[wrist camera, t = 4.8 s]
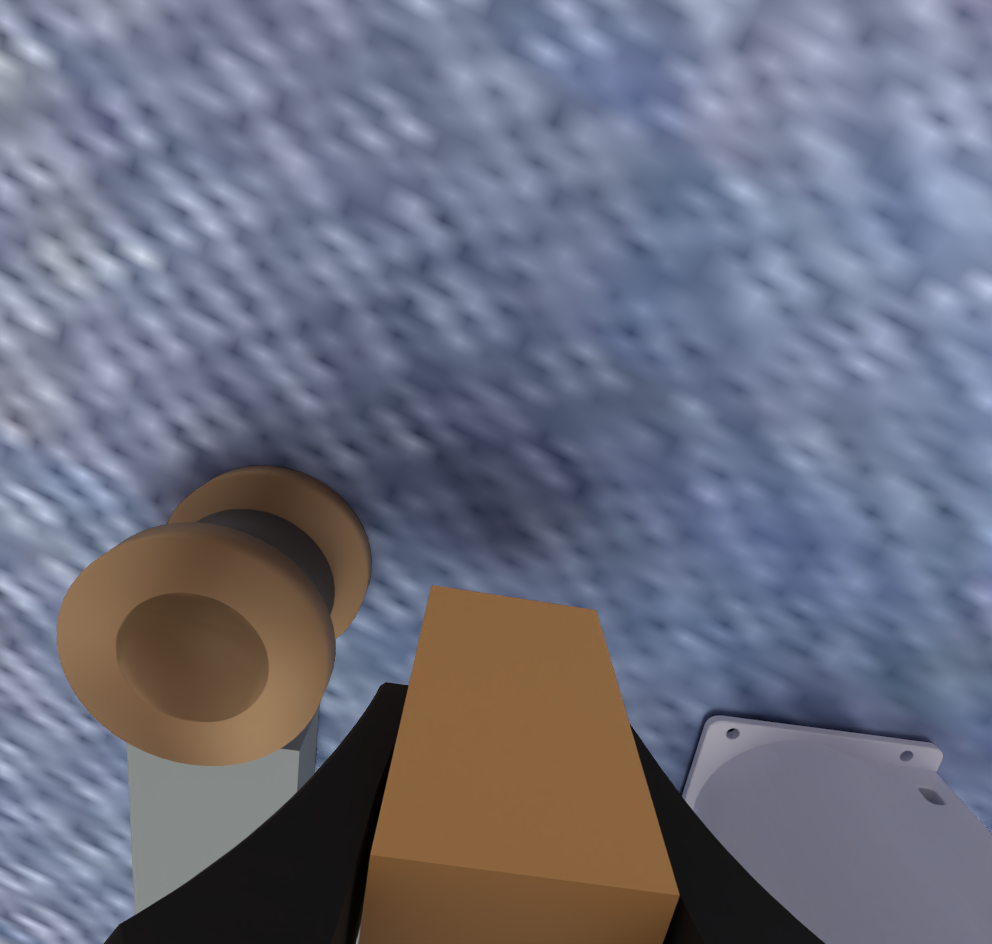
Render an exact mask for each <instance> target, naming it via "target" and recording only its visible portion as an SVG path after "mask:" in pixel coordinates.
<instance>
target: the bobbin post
mask: <svg viewBox="0 0 992 944" xmlns="http://www.w3.org/2000/svg"><path fill="white" fill-rule="evenodd" d="M371 563H372V560H371V552H370V546H369V542H368V539H367V536H366V533H365V531H364V529H363V526H362V524H361V523H360V521H359V519H358V517H357V516H356V514H355V513H354V512H353V510H352V509H351V508H350V506H349V505H348V504H347V503H346V502H345V501H344V500H343V499H342V498H341V497H340V496H339V495H338V494H337V493H336V492H334V491H333V490H332V489H331V488H329V487H328V486H326V485H325V484H323V483H322V482H320V481H318V480H317V479H315V478H313V477H310V476H308V475H306V474H304V473H301V472H298V471H295V470H292V469H288V468H283V467H278V466H266V465H261V466H248V467H242V468H237V469H234V470H231V471H228V472H225V473H223V474H221V475H219V476H217V477H214V478H213V479H211V480H210V481H208V482H207V483H205V484H204V485H203V486H201V487H200V488H198V489H197V490H195V491H194V492H193V493H191V494H190V495H189V496H188V497H187V498H185V499H184V500H183V501H182V502H181V503H180V504H179V506H178V507H177V508H176V509H175V511H174V512H173V514H172V515H171V517H170V519H169V521H168V522H167V525H161V526H157V527H154V528H150V529H147V530H144V531H142V532H139V533H137V534H135V535H133V536H131V537H129V538H127V539H126V540H124V541H123V542H121V543H120V544H118V545H117V546H115V547H114V548H113V549H111V550H110V551H108V552H107V553H105V554H104V555H103V556H101V557H100V558H98V559H97V560H95V561H94V562H93V563H91V564H90V565H89V566H88V567H87V568H86V569H85V570H84V571H83V572H81V573H80V575H79V576H78V577H77V578H76V580H75V581H74V582H73V584H72V585H71V586H70V588H69V590H68V592H67V594H66V596H65V597H64V600H63V603H62V606H61V609H60V612H59V616H58V623H57V646H58V652H59V658H60V661H61V664H62V668H63V671H64V673H65V675H66V678H67V680H68V682H69V684H70V686H71V688H72V689H73V691H74V692H75V694H76V696H77V697H78V699H79V700H80V702H81V703H82V704H83V705H84V706H85V708H86V709H87V710H88V711H89V712H90V714H91V715H92V716H94V717H95V718H96V719H97V720H98V721H99V722H100V723H101V724H102V725H103V726H104V727H106V728H107V729H108V730H109V731H111V732H112V733H113V734H114V735H116V736H117V737H119V738H121V739H122V740H124V741H125V742H127V743H128V744H130V745H132V746H134V747H136V748H138V749H140V750H142V751H144V752H147V753H149V754H152V755H154V756H157V757H160V758H163V759H167V760H170V761H174V762H178V763H184V764H189V765H198V766H227V765H234V764H241V763H245V762H249V761H253V760H256V759H259V758H262V757H264V756H267V755H269V754H271V753H273V752H275V751H277V750H278V749H280V748H282V747H284V746H285V745H286V744H288V743H289V742H290V741H292V740H293V739H294V738H295V737H296V736H297V735H298V734H299V733H300V732H301V731H302V730H303V729H304V728H305V727H306V726H307V724H308V723H309V722H310V720H311V719H312V718H313V716H314V714H315V712H316V710H317V708H318V706H319V704H320V702H321V699H322V697H323V694H324V692H325V690H326V687H327V685H328V683H329V680H330V677H331V674H332V671H333V667H334V661H335V655H336V640H335V639H336V638H337V637H339V636H340V635H341V634H342V633H343V632H344V631H345V630H346V629H347V628H348V626H349V625H350V624H351V622H352V621H353V619H354V618H355V616H356V614H357V612H358V610H359V608H360V606H361V604H362V601H363V599H364V597H365V594H366V591H367V588H368V585H369V582H370V576H371Z"/></svg>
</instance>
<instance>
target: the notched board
mask: <svg viewBox="0 0 992 944" xmlns="http://www.w3.org/2000/svg"><path fill="white" fill-rule="evenodd" d="M319 706H320V704H319ZM319 706H318V708H317V710H316V712H315V714H314V716H313V718H312V719H311V720H310V722H309V723H308V724H307V726H306V727H305V728H304V729H303V730H302V731H301V732H300V733H299V734H298V735H297V736H296V737H295V738H294V739H293V740H292V741H290V742H289V743H288V744H286V745H285V746H284V747H282V748H280V749H278V750H277V751H275V752H273V753H271V754H269V755H267V756H264V757H262V758H259V759H256V760H253V761H249V762H245V763H241V764H234V765H227V766H198V765H189V764H184V763H178V762H174V761H170V760H167V759H163V758H160V757H157V756H154V755H152V754H149V753H147V752H144V751H142V750H140V749H138V748H136V747H134V746H132V745H130V744H128V743H127V761H128V782H129V802H130V823H131V844H132V865H133V886H134V907H135V915H136V914H137V913H139V912H141V911H142V910H144V909H145V908H147V907H149V906H150V905H152V904H153V903H155V902H157V901H158V900H160V899H161V898H163V897H165V896H166V895H168V894H169V893H171V892H173V891H174V890H176V889H177V888H179V887H180V886H182V885H183V884H185V883H186V882H188V881H189V880H190V879H192V878H193V877H195V876H196V875H197V874H199V873H200V872H201V871H203V870H204V869H205V868H207V867H208V866H210V865H211V864H212V863H214V862H215V861H216V860H218V859H219V858H221V857H222V856H223V855H225V854H226V853H227V852H229V851H230V850H231V849H233V848H234V847H235V846H236V845H238V844H239V843H240V842H241V841H243V840H244V839H245V838H246V837H248V836H249V835H250V834H251V833H252V832H253V831H255V830H256V829H257V828H258V827H259V826H260V825H262V824H263V823H264V822H265V821H266V820H267V819H269V818H270V817H271V816H272V815H273V814H274V813H275V812H276V811H278V810H279V809H280V808H281V807H282V806H283V805H284V804H285V803H286V802H287V801H288V800H289V799H290V798H291V797H292V796H293V795H294V794H295V793H296V792H297V791H298V790H299V789H300V788H301V787H302V786H303V785H304V784H305V783H306V782H307V781H308V780H309V779H310V778H311V777H312V776H313V775H314V774H315V760H316V747H317V733H318V719H319ZM360 927H361V926H360ZM359 934H360V929H359V933H358V937H357V941H356V944H358V942H359Z"/></svg>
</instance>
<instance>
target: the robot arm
mask: <svg viewBox="0 0 992 944" xmlns="http://www.w3.org/2000/svg"><path fill="white" fill-rule="evenodd" d="M408 687H409V685H401V684H394V683H387V682H386V683H384V684H383V685H381V686H380V687H379V689H378V691H377V693H376V695H375V696H374V698H373V700H372V701H371V703H370V705H369V706H368V708H367V709H366V711H365V712H364V713H363V715H362V716H361V718H360V719H359V720H358V722H357V723H356V725H355V726H354V727H353V728H352V730H351V731H350V732H349V734H348V735H347V736H346V737H345V739H344V740H343V741H342V742H341V744H340V745H339V746H338V748H337V749H336V750H335V751H334V752H333V753H332V755H331V756H330V757H329V758H328V759H327V760H326V761H325V762H324V764H323V765H322V766H321V767H320V768H319V769H318V770H317V771H316V772H315V774H314V775H313V776H312V777H311V778H310V779H309V780H308V781H307V782H306V783H305V784H304V785H303V786H302V787H301V788H300V789H299V790H298V791H297V792H296V793H295V794H294V795H293V796H292V797H291V798H290V799H289V800H288V801H287V802H286V803H285V804H284V805H283V806H282V807H281V808H280V809H279V810H278V811H276V812H275V813H274V814H273V815H272V816H271V817H270V818H269V819H267V820H266V821H265V822H264V823H263V824H262V825H260V826H259V827H258V828H257V829H256V830H255V831H253V832H252V833H251V834H250V835H249V836H248V837H246V838H245V839H244V840H243V841H241V842H240V843H239V844H238V845H236V846H235V847H234V848H233V849H231V850H230V851H229V852H227V853H226V854H225V855H223V856H222V857H221V858H219V859H218V860H216V861H215V862H214V863H212V864H211V865H210V866H208V867H207V868H205V869H204V870H203V871H201V872H200V873H199V874H197V875H196V876H195V877H193V878H192V879H190V880H189V881H188V882H186V883H185V884H183V885H182V886H180V887H179V888H177V889H176V890H174V891H173V892H171V893H169V894H168V895H166V896H165V897H163V898H161V899H160V900H158V901H157V902H155V903H153V904H152V905H150V906H149V907H147V908H145V909H144V910H142V911H141V912H139V913H137V914H136V915H134V916H133V917H131V918H129V919H128V920H126V921H124V922H123V923H121V924H119V925H118V927H117V928H116V929H115V930H114V931H113V933H112V934H111V935H110V936H109V938H108V939H107V940H106V942H105V943H104V944H356V941H357V937H358V933H359V929H360V926H361V920H362V912H363V905H364V897H365V890H366V883H367V875H368V868H369V860H370V854H371V849H372V845H373V840H374V836H375V832H376V827H377V823H378V818H379V814H380V810H381V805H382V801H383V796H384V792H385V788H386V783H387V779H388V774H389V770H390V766H391V761H392V757H393V752H394V748H395V744H396V739H397V735H398V730H399V726H400V722H401V717H402V713H403V709H404V704H405V700H406V695H407V691H408ZM629 724H630V723H629ZM630 727H631V731H632V734H633V737H634V741H635V744H636V748H637V751H638V754H639V758H640V761H641V765H642V768H643V772H644V775H645V778H646V782H647V785H648V789H649V792H650V795H651V799H652V802H653V806H654V809H655V812H656V816H657V819H658V823H659V826H660V830H661V833H662V836H663V840H664V843H665V847H666V850H667V853H668V857H669V860H670V864H671V867H672V871H673V874H674V877H675V881H676V884H677V888H678V891H679V894H680V896H679V899H678V902H677V905H676V907H675V910H674V913H673V916H672V919H671V922H670V924H669V927H668V930H667V933H666V936H665V939H664V941H663V944H992V834H991V833H990V832H989V831H988V830H987V829H986V827H985V826H984V825H983V824H982V823H981V822H980V821H979V820H978V818H977V817H976V816H975V815H974V814H973V813H972V812H971V811H970V809H969V808H968V807H967V806H966V805H965V804H964V803H963V802H962V800H961V799H960V798H959V797H958V796H957V795H956V794H955V793H954V791H953V790H952V789H951V788H950V787H949V786H948V785H947V784H946V782H945V781H944V780H943V779H942V778H941V777H940V776H939V775H938V774H937V773H936V772H937V770H938V768H939V766H940V764H941V762H942V759H943V753H942V752H941V751H940V749H939V748H938V747H937V746H936V745H935V744H933V743H930V742H922V741H914V740H906V739H899V738H891V737H883V736H875V735H868V734H860V733H852V732H845V731H837V730H829V729H821V728H814V727H806V726H798V725H791V724H783V723H775V722H767V721H760V720H752V719H744V718H736V717H729V716H721V715H719V716H713V717H710V718H709V719H708V720H707V721H706V723H705V725H704V728H703V731H702V734H701V737H700V741H699V744H698V747H697V750H696V753H695V756H694V759H693V763H692V766H691V769H690V772H689V775H688V778H687V781H686V785H685V788H684V791H683V794H682V796H681V795H680V793H679V792H678V791H677V789H676V788H675V787H674V785H673V784H672V783H671V781H670V780H669V779H668V777H667V776H666V774H665V773H664V772H663V770H662V769H661V768H660V766H659V765H658V763H657V762H656V760H655V759H654V758H653V756H652V755H651V753H650V752H649V751H648V749H647V748H646V746H645V745H644V743H643V742H642V740H641V739H640V738H639V736H638V735H637V733H636V732H635V730H634V729H633V727H632V726H631V725H630ZM732 728H735V729H734V730H733V731H731V732H727V731H728V730H730V729H732Z"/></svg>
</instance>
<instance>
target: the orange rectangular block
mask: <svg viewBox="0 0 992 944" xmlns="http://www.w3.org/2000/svg"><path fill="white" fill-rule="evenodd" d="M679 896H680V894H679V891H678V888H677V884H676V881H675V877H674V874H673V871H672V867H671V864H670V860H669V857H668V853H667V850H666V847H665V843H664V840H663V836H662V833H661V830H660V826H659V823H658V819H657V816H656V812H655V809H654V806H653V802H652V799H651V795H650V792H649V789H648V785H647V782H646V778H645V775H644V772H643V768H642V765H641V761H640V758H639V754H638V751H637V748H636V744H635V741H634V737H633V734H632V731H631V727H630V724H629V720H628V717H627V713H626V710H625V707H624V703H623V700H622V696H621V693H620V690H619V686H618V683H617V679H616V676H615V673H614V669H613V666H612V662H611V659H610V655H609V652H608V649H607V645H606V642H605V638H604V635H603V632H602V628H601V625H600V621H599V618H598V614H597V611H596V610H592V609H585V608H579V607H572V606H566V605H559V604H552V603H546V602H539V601H533V600H526V599H519V598H513V597H506V596H500V595H493V594H486V593H480V592H473V591H467V590H460V589H453V588H447V587H440V586H434V585H431V590H430V594H429V599H428V603H427V607H426V612H425V616H424V621H423V625H422V629H421V634H420V638H419V643H418V647H417V651H416V656H415V660H414V665H413V669H412V673H411V678H410V682H409V687H408V691H407V695H406V700H405V704H404V709H403V713H402V717H401V722H400V726H399V730H398V735H397V739H396V744H395V748H394V752H393V757H392V761H391V766H390V770H389V774H388V779H387V783H386V788H385V792H384V796H383V801H382V805H381V810H380V814H379V818H378V823H377V827H376V832H375V836H374V840H373V845H372V849H371V854H370V860H369V868H368V875H367V883H366V890H365V897H364V905H363V912H362V920H361V927H360V934H359V942H358V944H663V941H664V939H665V936H666V933H667V930H668V927H669V924H670V922H671V919H672V916H673V913H674V910H675V907H676V905H677V902H678V899H679Z"/></svg>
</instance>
